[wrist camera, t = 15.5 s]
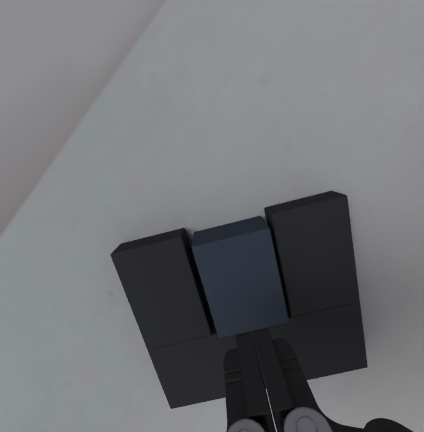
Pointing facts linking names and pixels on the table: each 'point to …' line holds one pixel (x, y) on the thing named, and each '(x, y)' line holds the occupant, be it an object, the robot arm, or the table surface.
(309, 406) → the robot arm
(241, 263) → the small block
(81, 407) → the table surface
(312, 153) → the table surface
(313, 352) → the black notched square slab
